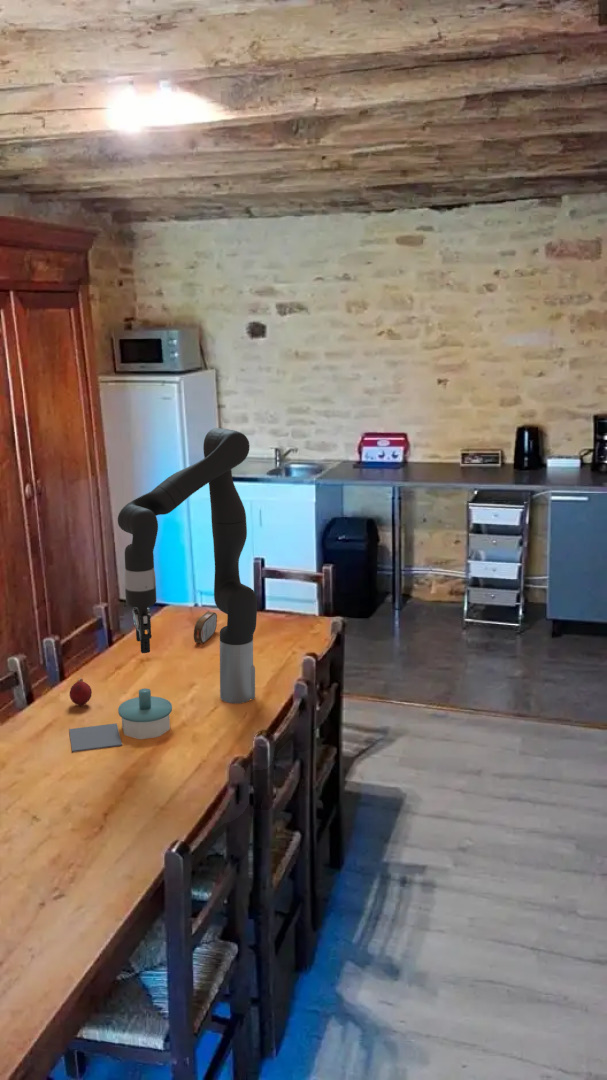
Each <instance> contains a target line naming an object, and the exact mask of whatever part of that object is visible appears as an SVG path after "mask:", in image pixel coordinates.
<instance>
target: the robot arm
mask: <svg viewBox="0 0 607 1080" xmlns="http://www.w3.org/2000/svg"><path fill="white" fill-rule="evenodd" d="M250 446H251V445H250V441H249V438H248V437H247V436H246V435H245V434H244V433H243V432H241V431H238V430H233V429H228V428H222V427H214V428H212V429H210V430H209V431H208V432H207V433H206V435H205V437H204V440H203V448H202V449H203V457H204V458H203V459H201V460H199V461H198V462H195V463H193V464H192V465H190V466H186V467H185V468H183V469H181V470H179V471H175V472H174V473H173V474H172V475H170V476H169V477H167V478H165V479H164V480H163V481H162V482H161V483H159V484H158V485H157V486H156V487H154V488H153V489H152V490H151V491H149V492H147V493H145V494H143V495H141V496H138V497H137V498H134V499H133V500H132V501H130V502H128V503H127V504H125V505H124V506H122V509H121V510H120V511H119V513H118V515H117V524H118V527H119V528H120V529H121V530H122V531H123V532H126V533H128V534H130V535H132V541H131V543H130V544H128V545H126V546H125V549H124V570H125V571H124V588H125V589H124V591H125V604H126V605H127V606H128V607H131V608H133V609H132V617H133V619H132V620H133V623H134V627H135V640H136V641H137V642H140V652H141V654H148V653H150V652H151V642H150V641H151V640H150V639H152V638H153V637H152V622H151V618H152V617H151V616H152V614H151V611H150V608H149V607H150V606H151V607H152V606H154V605H155V604H156V603H157V584H156V583H157V582H156V581H157V579H156V571H155V562H154V561H155V559H154V557H155V555H154V549H155V546H156V542H157V536H158V531H159V521H158V519H157V516H161V515H169V514H170V513H172V512H173V511H174V510H175V509H176V508H178V506H180V505H181V504H182V503H183V502H185V501H187V499H188V498H190V497H191V496H192V495H193V494H195V493H196V492H197V491H199V490H200V489H201V488H203V487H205V486H207V484H208V488H209V500H210V511H211V513H210V514H211V515H210V517H211V531H212V532H211V533H212V540H213V558H214V583H213V599H214V604H215V606H216V608H217V609H218V610H220V611H221V612H222V613H223V614H226V615H227V620H226V622H227V623H226V626H223V627H222V628H221V629H220V630H219V696H220V697H219V698H220V699H221V701H223V702H225V703H228V704H243V702H244V703H247V701H248V702H250V701H251V700H250V699H252V700H255V699H256V667H255V665H254V634H255V632H256V627H257V617H258V616H257V614H258V600H257V594H256V593H255V591H254V589H252V588H251V587H249V586H248V585H245V584H244V583H242V582H241V578H240V568H239V567H240V564H239V563H240V558H241V554H242V552H243V549H244V547H245V543H246V541H247V537H248V529H247V525H248V524H247V514H246V510H245V505H244V503H243V501H242V499H241V497H240V495H239V492H238V490H237V488H236V485H235V483H234V481H233V475H232V474H233V473H232V469H234V468H236V467H237V466H239V465H240V464H241V463H243V462H244V461H245V460H246V459H247V457H248V455H249V454H250V453H249V451H250ZM254 698H255V699H254ZM249 700H250V701H249Z"/></svg>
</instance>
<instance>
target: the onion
mask: <svg viewBox="0 0 607 1080" xmlns="http://www.w3.org/2000/svg"><path fill="white" fill-rule="evenodd" d="M91 697H92V688H91V686H90V685H89V684H88V683H87V682H86V681H84V679H83V678H82V677H80V678H78V680H77V682H75V683H73V685H72V686H71V687H70V690H69V699H70V700H71V702H72V703H74V704H75V705H77V706H79V707H83V706H85V704H87V703H88V702H89V701H90V700H91Z"/></svg>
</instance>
